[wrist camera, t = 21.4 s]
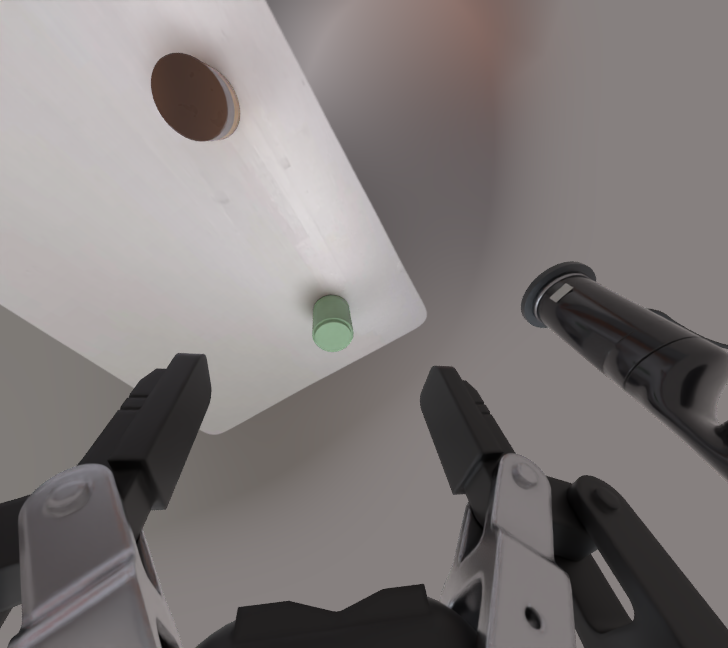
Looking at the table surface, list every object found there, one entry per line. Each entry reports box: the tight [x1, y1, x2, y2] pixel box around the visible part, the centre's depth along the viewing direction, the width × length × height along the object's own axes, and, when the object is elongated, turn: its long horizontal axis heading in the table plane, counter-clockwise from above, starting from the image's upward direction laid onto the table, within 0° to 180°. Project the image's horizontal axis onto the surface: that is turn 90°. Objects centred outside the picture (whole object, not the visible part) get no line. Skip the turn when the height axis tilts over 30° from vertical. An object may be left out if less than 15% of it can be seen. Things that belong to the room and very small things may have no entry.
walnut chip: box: [151, 53, 235, 141], centre depth 25 cm, size 6×6×2 cm
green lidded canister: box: [312, 295, 353, 352], centre depth 41 cm, size 6×6×7 cm
